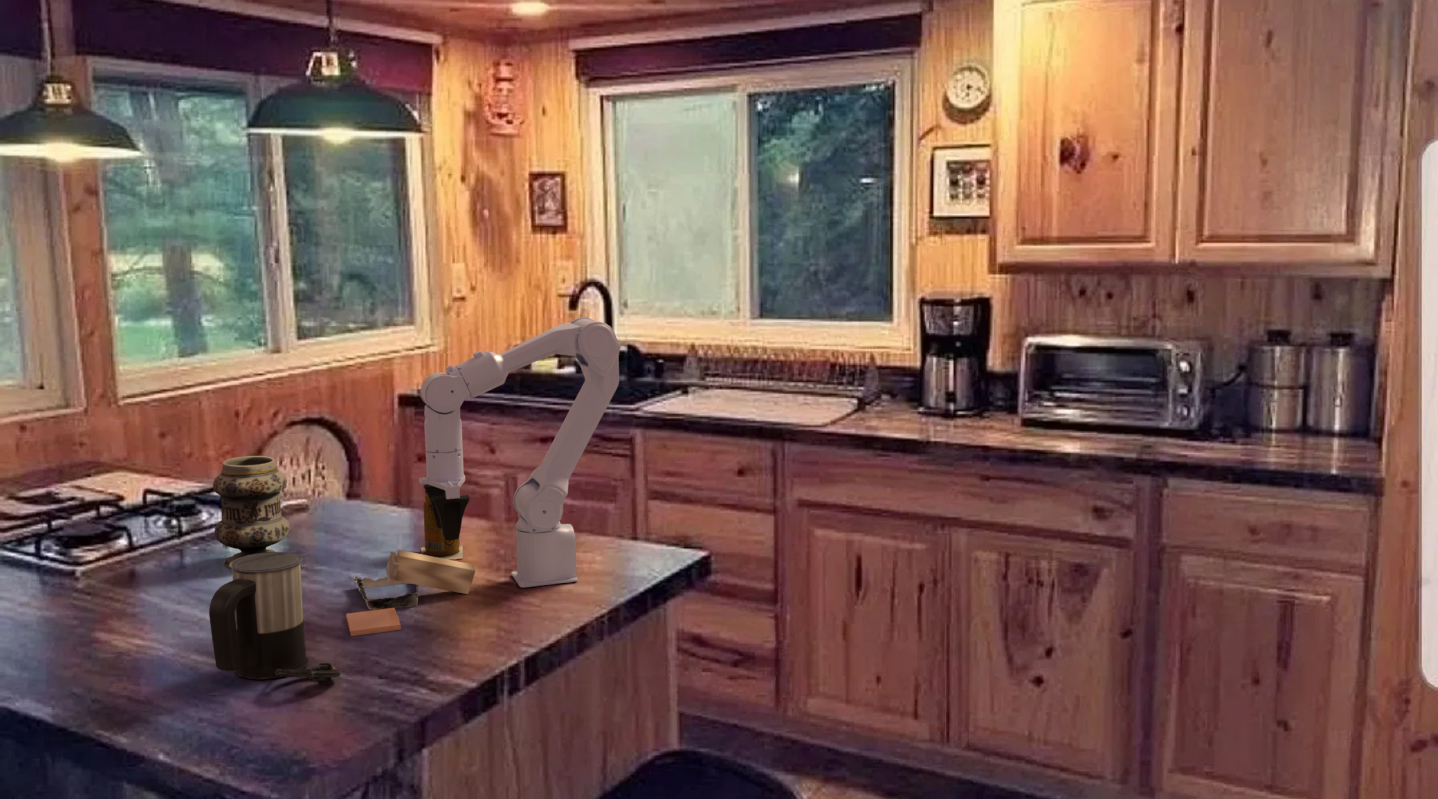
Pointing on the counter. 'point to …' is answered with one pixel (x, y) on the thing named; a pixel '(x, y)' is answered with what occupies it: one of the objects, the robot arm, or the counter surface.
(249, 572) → the milk frother
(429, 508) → the condiment
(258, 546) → the apothecary jar
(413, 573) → the wooden block
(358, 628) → the tile
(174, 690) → the counter surface
